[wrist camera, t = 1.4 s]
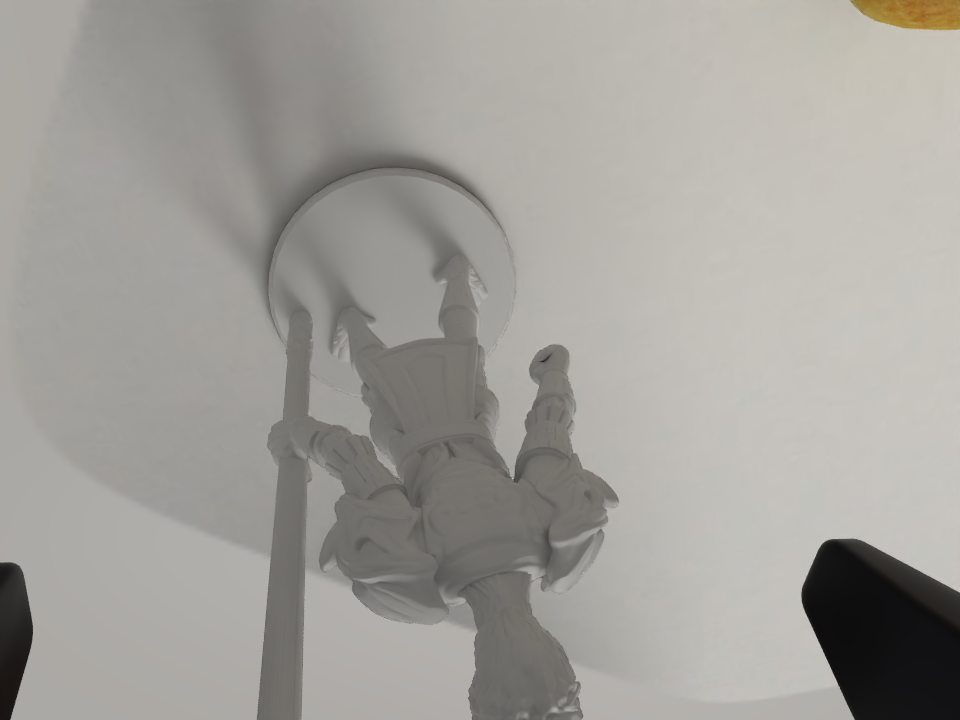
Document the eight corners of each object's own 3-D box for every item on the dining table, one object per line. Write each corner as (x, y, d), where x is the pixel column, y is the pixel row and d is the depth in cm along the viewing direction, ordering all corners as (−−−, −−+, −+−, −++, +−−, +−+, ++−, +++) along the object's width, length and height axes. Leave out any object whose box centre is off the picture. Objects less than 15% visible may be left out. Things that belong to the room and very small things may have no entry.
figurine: (300, 415, 16) (267, 1166, 6) (239, 189, 14) (-2, 801, 3) (522, 372, 17) (843, 982, 7) (502, 148, 15) (966, 562, 4)
